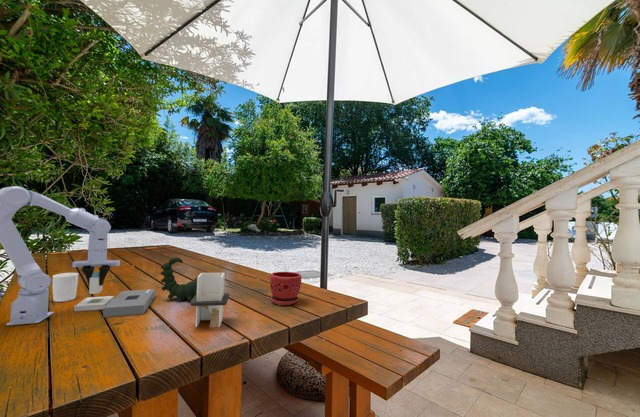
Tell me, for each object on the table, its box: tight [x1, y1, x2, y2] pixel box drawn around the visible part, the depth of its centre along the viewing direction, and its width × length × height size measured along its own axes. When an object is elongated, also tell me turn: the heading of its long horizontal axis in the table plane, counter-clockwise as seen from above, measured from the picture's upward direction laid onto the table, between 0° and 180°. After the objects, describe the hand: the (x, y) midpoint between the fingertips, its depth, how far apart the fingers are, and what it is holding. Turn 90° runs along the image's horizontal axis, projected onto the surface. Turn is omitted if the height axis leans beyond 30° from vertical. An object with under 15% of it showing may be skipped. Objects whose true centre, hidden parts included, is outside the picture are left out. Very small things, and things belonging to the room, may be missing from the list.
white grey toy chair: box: [189, 272, 230, 328], centre depth 95 cm, size 25×24×16 cm
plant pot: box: [269, 271, 302, 306], centre depth 120 cm, size 13×13×12 cm
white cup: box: [52, 272, 79, 303], centre depth 115 cm, size 8×8×10 cm
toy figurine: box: [160, 256, 199, 302], centre depth 119 cm, size 9×19×25 cm
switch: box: [102, 288, 156, 318], centre depth 110 cm, size 22×12×4 cm, turn 21°
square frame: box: [73, 295, 115, 312], centre depth 109 cm, size 11×9×2 cm
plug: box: [88, 271, 104, 295], centre depth 109 cm, size 4×3×7 cm, turn 21°
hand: (95, 285), depth 109 cm, fingers closed on plug, 3 cm apart
